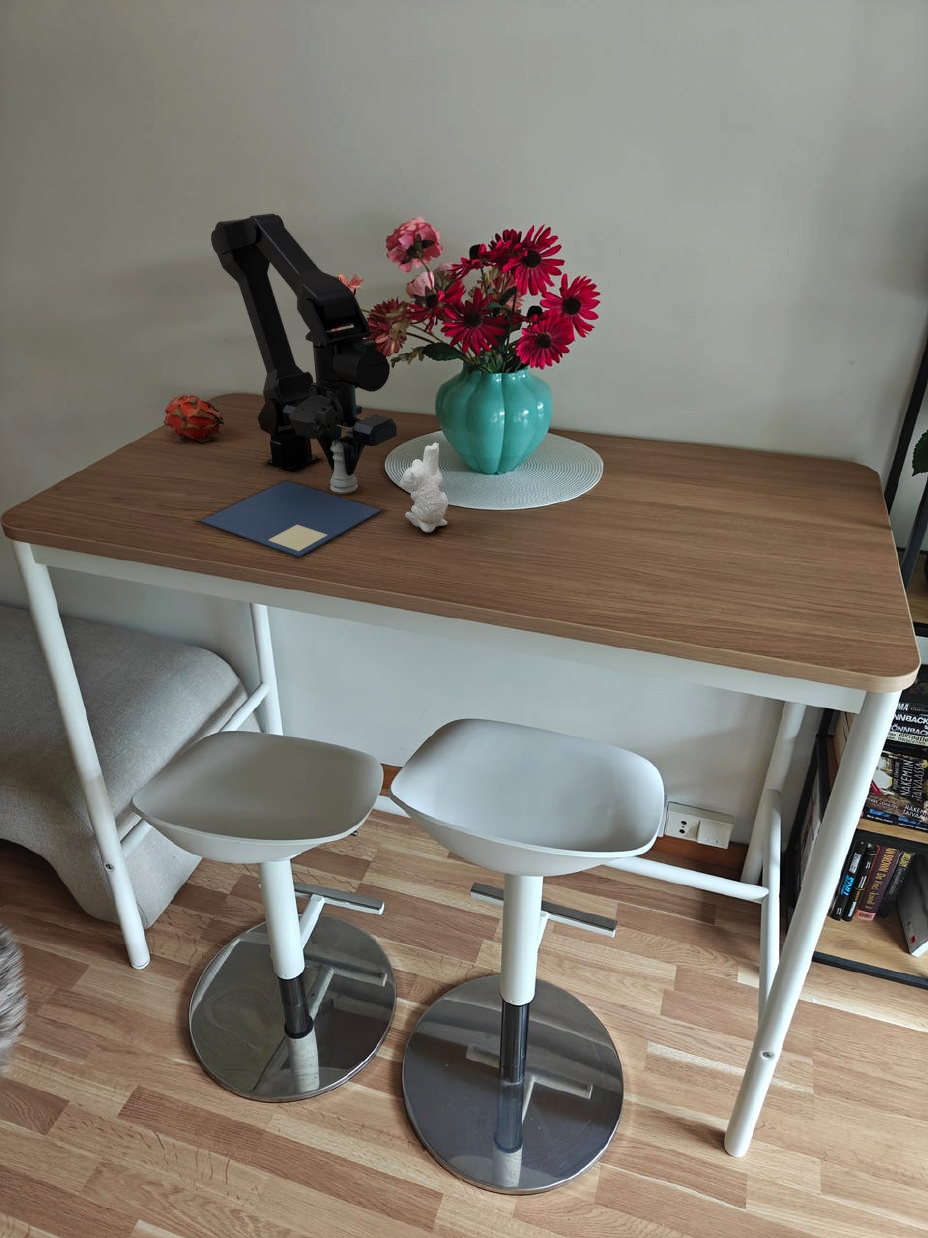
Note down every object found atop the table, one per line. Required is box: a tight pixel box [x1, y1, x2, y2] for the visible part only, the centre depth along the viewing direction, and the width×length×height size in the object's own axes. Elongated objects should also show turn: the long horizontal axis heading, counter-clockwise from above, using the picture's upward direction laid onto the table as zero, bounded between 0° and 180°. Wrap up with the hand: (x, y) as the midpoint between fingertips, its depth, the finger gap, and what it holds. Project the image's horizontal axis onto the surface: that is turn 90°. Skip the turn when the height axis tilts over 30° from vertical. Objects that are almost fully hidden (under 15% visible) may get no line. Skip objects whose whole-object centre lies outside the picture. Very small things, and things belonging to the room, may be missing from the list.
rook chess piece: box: [329, 440, 359, 495], centre depth 140 cm, size 4×4×8 cm
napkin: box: [200, 480, 382, 558], centre depth 133 cm, size 18×20×1 cm
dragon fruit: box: [162, 393, 225, 442], centre depth 160 cm, size 8×8×12 cm
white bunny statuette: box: [399, 442, 449, 533], centre depth 127 cm, size 8×7×12 cm
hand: (342, 472), depth 140 cm, fingers closed on rook chess piece, 3 cm apart
